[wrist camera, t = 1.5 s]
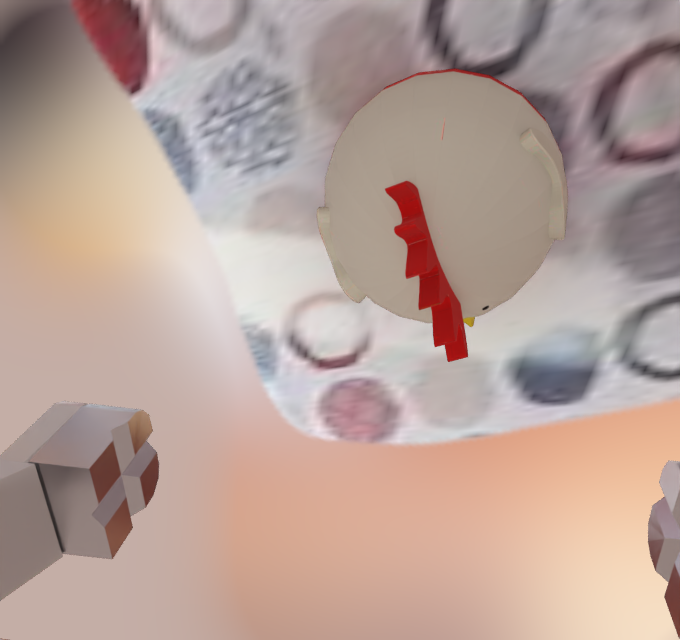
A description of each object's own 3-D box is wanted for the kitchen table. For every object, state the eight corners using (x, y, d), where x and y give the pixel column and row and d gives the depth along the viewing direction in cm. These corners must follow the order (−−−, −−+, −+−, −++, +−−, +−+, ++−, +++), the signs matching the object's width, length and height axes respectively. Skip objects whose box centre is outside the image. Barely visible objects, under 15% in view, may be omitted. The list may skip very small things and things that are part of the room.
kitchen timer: (379, 317, 42) (334, 457, 29) (296, 125, 37) (199, 191, 24) (588, 255, 37) (646, 390, 24) (524, 26, 33) (555, 42, 20)
